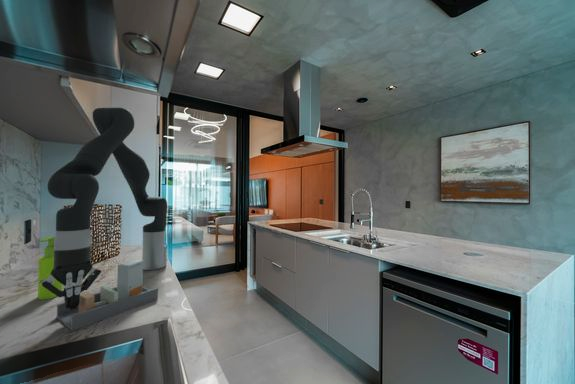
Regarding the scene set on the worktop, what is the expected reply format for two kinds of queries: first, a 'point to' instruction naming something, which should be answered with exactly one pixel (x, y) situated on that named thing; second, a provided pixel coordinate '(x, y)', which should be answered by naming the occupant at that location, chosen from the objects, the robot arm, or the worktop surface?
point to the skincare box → (129, 279)
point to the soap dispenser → (47, 269)
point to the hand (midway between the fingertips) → (71, 308)
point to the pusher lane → (103, 309)
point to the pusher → (105, 298)
